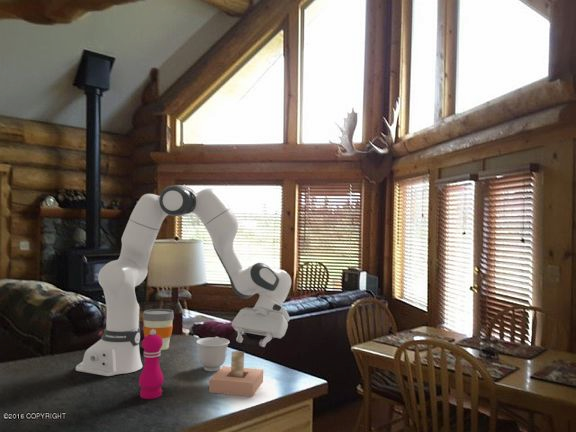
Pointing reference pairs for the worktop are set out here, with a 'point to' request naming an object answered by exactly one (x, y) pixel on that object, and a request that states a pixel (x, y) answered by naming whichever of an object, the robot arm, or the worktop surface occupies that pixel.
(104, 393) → the worktop surface
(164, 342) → the reusable coffee cup
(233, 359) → the maple pin
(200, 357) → the teacup
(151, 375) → the pepper mill
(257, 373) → the socket block
